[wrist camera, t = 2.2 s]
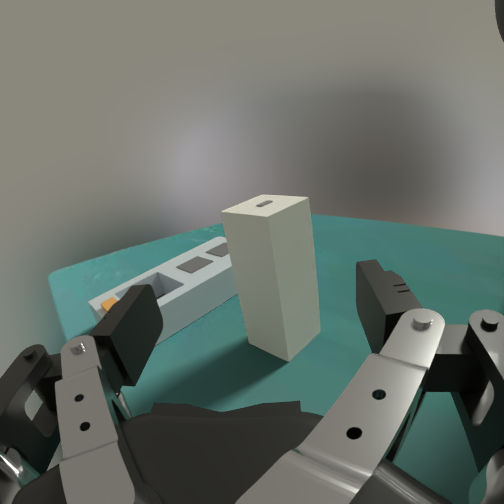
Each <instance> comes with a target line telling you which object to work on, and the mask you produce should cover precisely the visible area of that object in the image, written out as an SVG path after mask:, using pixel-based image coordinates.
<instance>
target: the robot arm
mask: <svg viewBox="0 0 504 504" xmlns="http://www.w3.org/2000/svg"><path fill="white" fill-rule="evenodd" d="M495 13H496V20H497V25H498V29H499V32H500V35H501V37H502V40H503V41H504V0H495ZM356 306H357V312H358V315H359V318H360V321H361V323H362V326H363V329H364V331H365V334H366V337H367V340H368V343H369V345H370V348H371V351H372V353H371V354H370V355H369V356H368V357H367V359H366V360H365V362H364V363H363V364H362V366H361V367H360V369H359V370H358V372H357V373H356V375H355V376H354V377H353V379H352V380H351V382H350V383H349V384H348V386H347V387H346V388H345V390H344V391H343V392H342V394H341V395H340V396H339V398H338V399H337V400H336V402H335V403H334V404H333V406H332V407H331V408H330V410H329V411H328V412H327V413H326V415H325V416H321V415H318V414H314V413H309V412H301V407H300V401H291V402H278V403H262V404H258V405H253V406H249V407H245V408H240V409H236V410H231V411H226V412H217V411H213V410H208V409H204V408H200V407H195V406H191V405H187V404H168V403H154V405H153V408H152V410H151V413H147V414H142V415H139V416H136V417H132V415H131V412H130V410H129V407H128V405H127V402H126V399H125V397H124V395H123V393H122V391H121V387H122V386H136V383H137V381H138V379H139V377H140V375H141V373H142V371H143V369H144V367H145V365H146V363H147V361H148V359H149V357H150V355H151V353H152V351H153V349H154V347H155V345H156V343H157V341H158V339H159V337H160V335H161V333H162V330H163V317H162V314H161V311H160V308H159V305H158V302H157V299H156V296H155V293H154V290H153V288H152V286H151V285H150V284H142V285H132V286H131V287H130V288H129V289H128V291H127V292H126V293H125V294H124V296H123V297H122V298H121V299H120V300H118V301H117V302H116V303H114V304H113V305H112V306H111V308H110V309H109V310H108V311H107V313H106V314H105V315H104V316H103V319H101V320H100V322H99V323H98V324H97V325H96V327H95V328H94V329H93V331H92V332H91V333H90V335H89V336H88V335H83V336H78V337H76V338H73V339H71V340H70V341H68V342H67V343H66V344H65V345H64V346H63V348H62V350H61V353H59V354H54V355H49V354H48V353H47V351H46V349H45V348H44V346H43V345H39V344H37V345H33V346H30V347H28V348H26V349H25V350H24V351H22V352H21V353H20V354H19V356H18V357H17V358H16V359H15V360H14V362H13V363H12V364H11V365H10V367H9V368H8V369H7V371H6V372H5V373H4V375H3V376H2V377H1V378H0V504H453V503H451V502H450V501H448V500H447V499H445V498H443V497H442V496H440V495H439V494H437V493H436V492H434V491H433V490H431V489H430V488H428V487H427V486H425V485H424V484H422V483H421V482H419V481H418V480H416V479H415V478H413V477H412V476H410V475H409V474H407V473H406V472H405V471H403V470H402V469H400V468H399V467H397V466H396V465H395V464H393V463H394V461H395V459H396V457H397V455H398V453H399V451H400V449H401V447H402V445H403V443H404V441H405V439H406V437H407V434H408V432H409V430H410V428H411V426H412V424H413V422H414V420H415V418H416V416H417V414H418V411H419V409H420V407H421V405H422V402H423V400H424V398H425V395H426V393H427V392H450V393H451V395H452V397H453V400H454V403H455V405H456V408H457V410H458V413H459V415H460V418H461V421H462V424H463V426H464V429H465V432H466V435H467V438H468V441H469V444H470V446H471V450H472V453H473V456H474V459H475V462H476V465H477V469H478V472H479V474H478V475H477V476H476V477H475V478H474V480H473V481H472V483H471V485H470V489H469V504H504V316H503V315H502V314H500V313H498V312H496V311H492V310H479V311H476V312H474V313H473V314H472V315H471V316H470V319H469V323H468V325H450V324H445V322H444V319H443V318H442V316H441V315H439V314H438V313H437V312H435V311H432V310H429V309H423V308H422V306H421V305H420V303H419V302H418V300H417V299H416V297H415V296H414V294H413V293H412V292H411V291H410V289H409V287H408V286H407V285H406V283H405V282H404V280H403V279H402V278H401V276H399V275H398V274H396V273H394V272H393V271H391V270H390V271H384V270H383V269H382V267H381V266H380V264H379V263H378V261H377V260H368V261H360V262H357V263H356ZM33 390H35V392H36V393H37V394H38V396H39V397H40V399H41V400H42V401H43V403H42V405H41V407H40V408H39V410H38V412H37V414H36V415H35V417H34V419H33V420H32V421H31V420H30V419H29V417H28V416H27V415H26V412H25V407H24V406H25V402H26V401H27V399H28V397H29V396H30V394H31V393H32V391H33ZM60 440H61V444H62V450H63V459H62V460H61V461H60V464H58V465H56V466H55V467H53V468H51V469H50V470H48V471H47V468H48V466H49V464H50V462H51V459H52V457H53V455H54V453H55V451H56V449H57V447H58V445H59V443H60ZM46 471H47V472H46Z"/></svg>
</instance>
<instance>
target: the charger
mask: <svg viewBox="0 0 504 504" xmlns="http://www.w3.org/2000/svg"><path fill="white" fill-rule="evenodd" d="M221 216H222V221H223V226H224V231H225V236H226V240H227V245H228V250H229V255H230V259H231V264H232V269H233V273H234V278H235V282H236V287H237V292H238V296H239V301H240V305H241V310H242V314H243V319H244V323H245V328H246V332H247V336H248V341H249V343H250V344H252V345H254V346H256V347H258V348H260V349H262V350H264V351H266V352H268V353H270V354H272V355H275V356H277V357H279V358H281V359H283V360H285V361H287V362H290V361H291V360H292V359H293V358H294V357H295V356H296V355H297V354H298V353H299V352H300V351H301V350H302V349H303V348H304V347H305V346H307V345H308V344H309V343H310V342H311V341H312V340H313V339H314V338H315V337H316V336H317V335H318V334H319V333H320V315H319V300H318V287H317V274H316V263H315V252H314V241H313V232H312V222H311V213H310V205H309V198H308V197H295V196H279V195H260V196H258V197H255V198H253V199H250V200H248V201H245V202H243V203H241V204H238V205H235V206H233V207H230V208H228V209H226V210H223V211H221Z"/></svg>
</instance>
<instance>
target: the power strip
mask: <svg viewBox="0 0 504 504" xmlns="http://www.w3.org/2000/svg"><path fill="white" fill-rule="evenodd" d="M142 284H150V285H151V286H152V288H153V290H154V293H155V296H156V299H157V302H158V305H159V308H160V311H161V314H162V317H163V330H162V333H161V335H160V337H159V339H158V341H157V343H156V345H157V344H159V343H160V342H162V341H164V340H165V339H167V338H168V337H170V336H172V335H173V334H175V333H176V332H178V331H180V330H181V329H183V328H184V327H186V326H188V325H189V324H191V323H192V322H194V321H196V320H197V319H199V318H200V317H202V316H203V315H205V314H207V313H208V312H210V311H211V310H213V309H214V308H216V307H218V306H219V305H221V304H222V303H224V302H225V301H227V300H229V299H230V298H232V297H233V296H235V295H236V294H238V292H237V287H236V282H235V278H234V273H233V269H232V264H231V259H230V255H229V250H228V245H227V240H226V238H224V237H219V236H218V237H216V238H214V239H212V240H210V241H208V242H206V243H204V244H202V245H200V246H198V247H196V248H194V249H191V250H189V251H187V252H185V253H183V254H181V255H179V256H177V257H175V258H173V259H171V260H169V261H167V262H165V263H163V264H161V265H159V266H157V267H155V268H153V269H151V270H149V271H147V272H145V273H143V274H141V275H139V276H137V277H135V278H133V279H131V280H129V281H127V282H125V283H123V284H121V285H119V286H117V287H115V288H114V289H112V290H110V291H108V292H106V293H104V294H102V295H100V296H98V297H96V298H94V299H92V300H90V301H88V303H89V305H90V307H91V310H92V312H93V314H94V316H95V319H96V321H97V323H99V322H100V320H101V319H103V316H104V315H105V314H106V313H107V311H108V310H109V309H110V308H111V306H112V305H113V304H114V303H116V302H117V301H118V300H120V299H121V298H122V297H123V296H124V294H125V293H126V292H127V291H128V289H129V288H130V287H131V286H132V285H142ZM156 345H155V346H156Z"/></svg>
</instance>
